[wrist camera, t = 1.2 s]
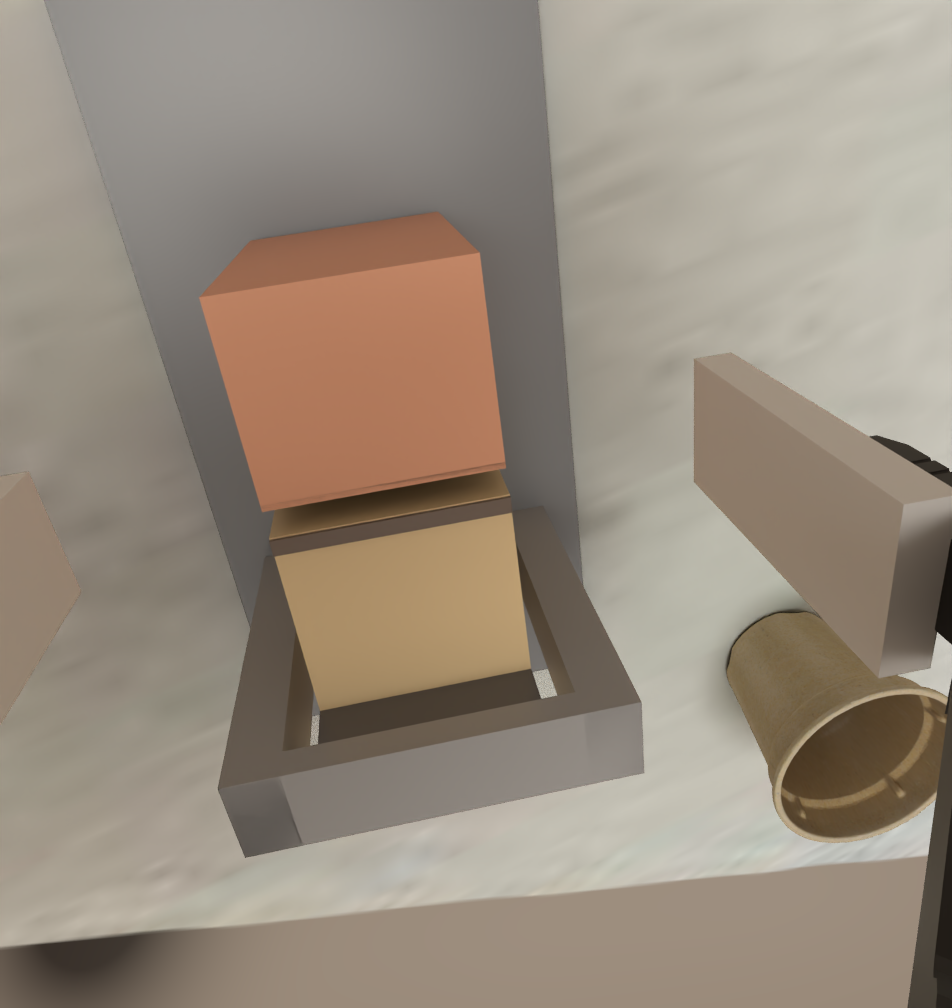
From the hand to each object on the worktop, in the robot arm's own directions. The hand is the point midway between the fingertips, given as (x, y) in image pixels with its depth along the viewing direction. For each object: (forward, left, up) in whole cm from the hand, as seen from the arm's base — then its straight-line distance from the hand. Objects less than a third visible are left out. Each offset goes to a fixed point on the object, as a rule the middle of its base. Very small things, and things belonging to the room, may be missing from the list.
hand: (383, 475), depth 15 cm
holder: (0, -4, -17) cm, 18 cm away
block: (0, 0, -16) cm, 16 cm away
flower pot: (+19, -23, -18) cm, 34 cm away
